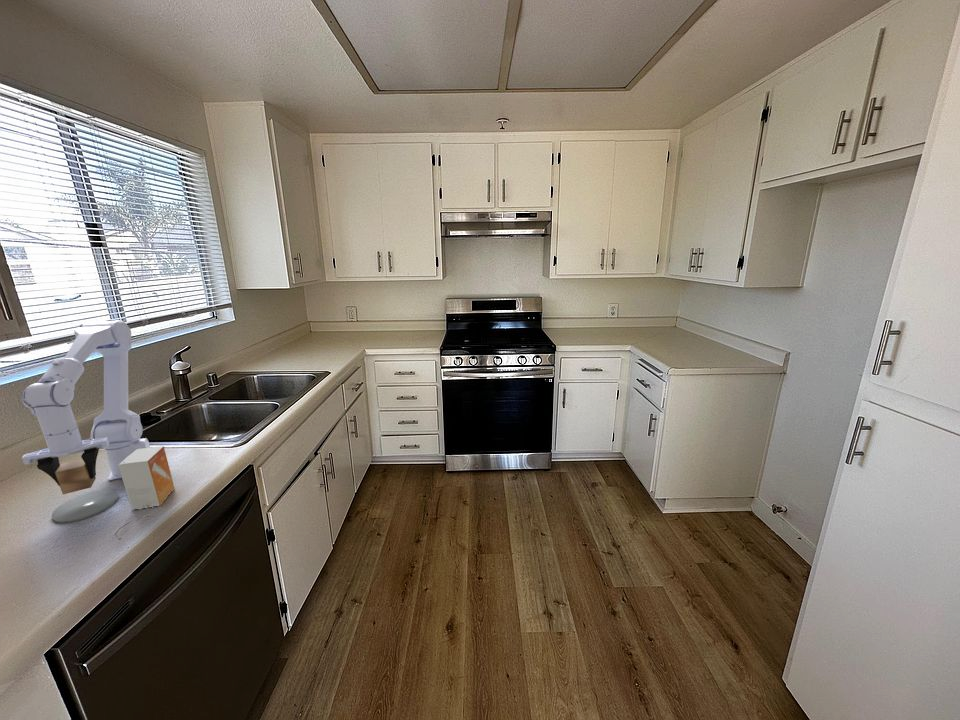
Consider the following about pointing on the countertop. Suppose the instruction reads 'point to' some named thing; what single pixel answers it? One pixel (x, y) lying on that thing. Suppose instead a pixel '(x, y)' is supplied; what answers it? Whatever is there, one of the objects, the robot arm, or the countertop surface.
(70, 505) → the slate dish
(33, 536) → the countertop surface
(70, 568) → the countertop surface
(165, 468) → the small box
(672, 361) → the countertop surface
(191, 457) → the countertop surface
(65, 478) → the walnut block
